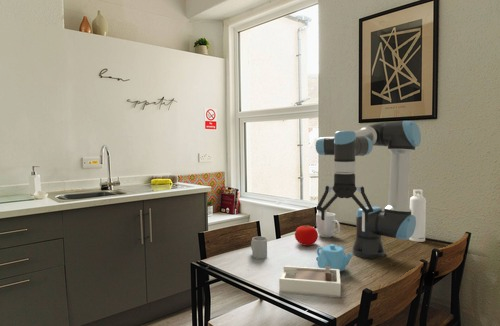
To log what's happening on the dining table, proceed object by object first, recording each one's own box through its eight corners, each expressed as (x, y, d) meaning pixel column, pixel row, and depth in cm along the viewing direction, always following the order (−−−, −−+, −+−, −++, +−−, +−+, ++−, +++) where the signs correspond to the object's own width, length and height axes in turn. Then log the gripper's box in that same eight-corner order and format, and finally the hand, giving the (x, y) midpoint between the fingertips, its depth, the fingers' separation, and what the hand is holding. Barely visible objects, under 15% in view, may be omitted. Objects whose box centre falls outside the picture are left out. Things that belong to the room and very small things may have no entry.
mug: (344, 237, 202) (345, 214, 201) (334, 241, 194) (334, 217, 193) (323, 232, 212) (323, 211, 211) (312, 236, 205) (312, 214, 204)
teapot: (354, 276, 143) (354, 249, 143) (321, 277, 143) (321, 250, 142) (343, 263, 159) (343, 239, 158) (313, 264, 158) (313, 240, 157)
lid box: (339, 282, 138) (339, 269, 138) (340, 297, 125) (340, 283, 124) (284, 277, 143) (284, 265, 143) (279, 292, 130) (279, 278, 129)
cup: (258, 260, 165) (258, 241, 164) (245, 254, 173) (245, 237, 172) (270, 256, 169) (270, 238, 169) (257, 251, 177) (257, 234, 177)
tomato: (321, 244, 187) (321, 225, 187) (305, 249, 180) (305, 229, 180) (307, 240, 197) (307, 221, 196) (290, 243, 190) (290, 224, 189)
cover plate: (332, 274, 137) (332, 264, 137) (333, 285, 127) (333, 275, 126) (297, 272, 140) (297, 262, 140) (294, 282, 130) (294, 272, 129)
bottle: (425, 238, 196) (427, 189, 194) (424, 242, 189) (425, 191, 187) (410, 236, 200) (411, 188, 198) (408, 240, 194) (409, 190, 192)
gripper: (379, 172, 129) (378, 228, 131) (310, 171, 135) (310, 225, 136) (381, 174, 122) (380, 234, 123) (309, 173, 128) (309, 230, 129)
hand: (344, 229), depth 130 cm, fingers open, 13 cm apart
